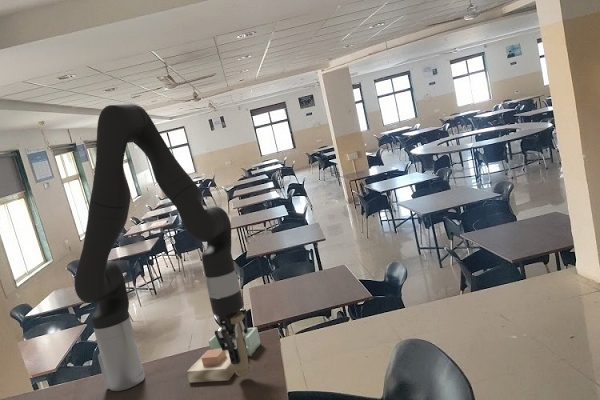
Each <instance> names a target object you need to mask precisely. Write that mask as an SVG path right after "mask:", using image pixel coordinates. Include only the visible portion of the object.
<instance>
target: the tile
mask: <svg viewBox="0 0 600 400" xmlns="http://www.w3.org/2000/svg"><path fill="white" fill-rule="evenodd" d="M208 350H209V351H208V352H207V353H206V354H205V355H204V356H203V357H202V356H201V357H202V358H201V357H200V358H201V359H202V363H203V365H216V364H220V363H221V361H222V360H223V359H224V358H225V357H226V353H225V351H223V350H222V349H216V350H210V349H208Z"/></svg>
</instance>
